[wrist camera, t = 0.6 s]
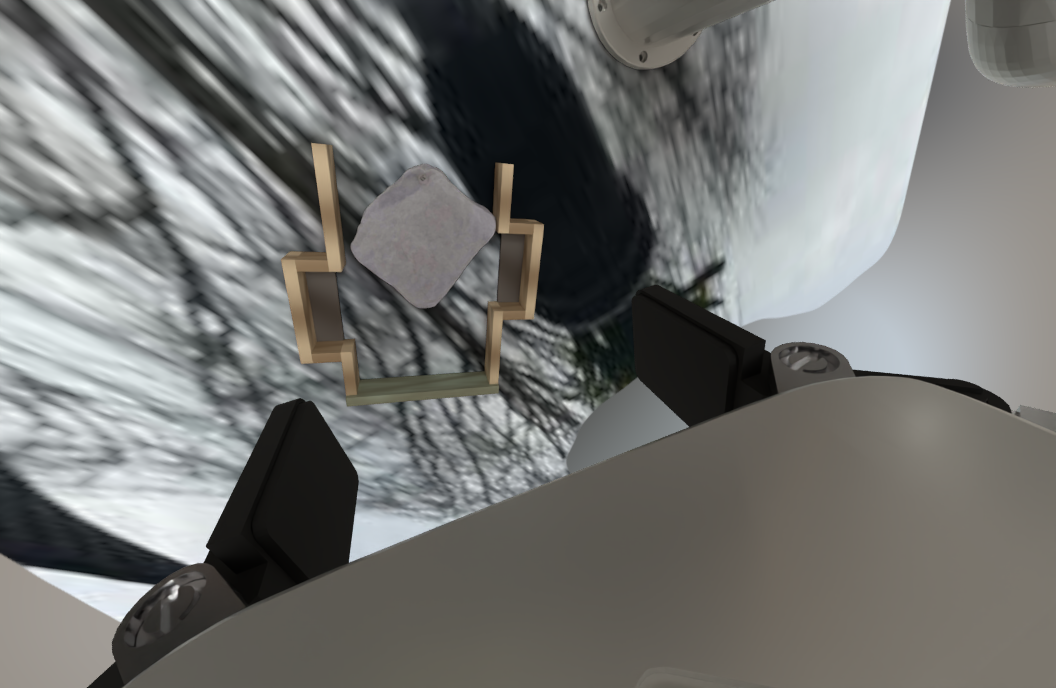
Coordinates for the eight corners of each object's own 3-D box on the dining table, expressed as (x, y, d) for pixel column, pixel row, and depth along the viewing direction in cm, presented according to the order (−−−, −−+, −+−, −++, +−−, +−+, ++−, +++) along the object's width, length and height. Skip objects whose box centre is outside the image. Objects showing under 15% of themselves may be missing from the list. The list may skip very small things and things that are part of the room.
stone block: (347, 249, 37) (431, 310, 40) (331, 252, 32) (427, 321, 35) (418, 149, 35) (500, 221, 38) (412, 138, 31) (505, 221, 34)
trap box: (269, 138, 30) (255, 137, 27) (539, 167, 37) (552, 168, 34) (315, 390, 40) (308, 409, 37) (519, 375, 47) (527, 390, 44)
